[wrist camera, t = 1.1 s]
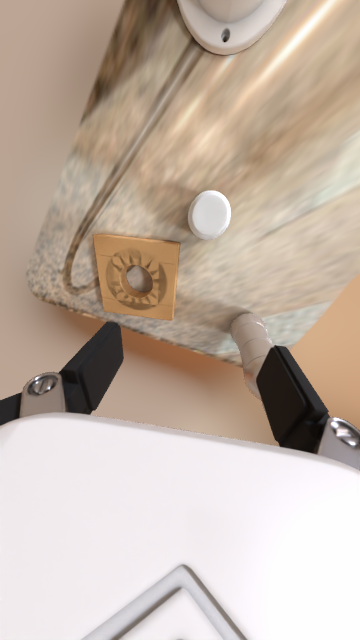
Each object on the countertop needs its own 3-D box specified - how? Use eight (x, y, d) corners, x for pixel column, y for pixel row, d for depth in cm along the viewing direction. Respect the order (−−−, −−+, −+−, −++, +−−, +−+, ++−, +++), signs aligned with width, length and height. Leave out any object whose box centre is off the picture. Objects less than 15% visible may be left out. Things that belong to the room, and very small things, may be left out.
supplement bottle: (226, 233, 28) (236, 237, 20) (193, 240, 29) (190, 247, 21) (223, 193, 25) (233, 179, 17) (187, 202, 26) (181, 193, 18)
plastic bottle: (224, 332, 37) (244, 427, 20) (236, 305, 34) (272, 391, 17) (252, 339, 37) (296, 440, 20) (267, 313, 34) (335, 406, 17)
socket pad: (101, 233, 30) (92, 234, 28) (180, 242, 29) (178, 244, 27) (110, 305, 37) (103, 311, 35) (174, 313, 36) (172, 320, 34)
